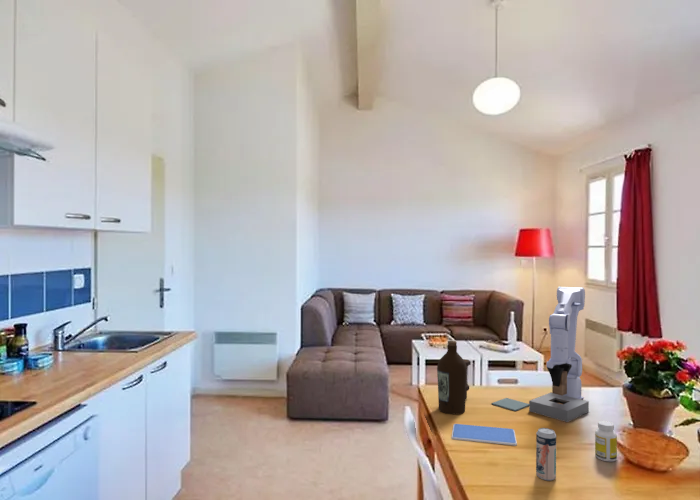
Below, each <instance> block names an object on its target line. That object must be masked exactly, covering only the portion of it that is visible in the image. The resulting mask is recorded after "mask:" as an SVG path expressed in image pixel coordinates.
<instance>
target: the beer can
mask: <svg viewBox="0 0 700 500" xmlns="http://www.w3.org/2000/svg"><path fill="white" fill-rule="evenodd" d="M535 433H536V434H535V435H536V437H535V438H536V439H535V443H536V444H535V445H536V447H535V454H536V455H535V458H536V459H535V465H536V466H535V474H536V476H537V477H538V478H539V479H541V480H543V481H547V482H548V481H553V480H556V478H557V434H556V432H555V430H553V429H552V428H548V427H541V428H538V430H537V431H536V432H535Z"/></svg>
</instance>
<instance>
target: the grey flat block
mask: <svg viewBox="0 0 700 500" xmlns="http://www.w3.org/2000/svg"><path fill="white" fill-rule="evenodd" d="M589 402H590V401H588V400H584V399H577V398H573V397H569V396H565V395H558V394H554V393H552V391H550V392H549V393H545V394H542V395H541V396H539V397H536V398H533V399H530V400H529V401H528V404H529V406H528V407H529V408H528V409H529V412H531V413H535V414H537V415H541V416H544V417H548V418H552V419H555V420H559V421H562V422H565V423H569V422H571V421H573V420H575V419H577V418H579V417H582V416H583V415H585V414H587V413H590V411H589V410H590V409H589V407H590V404H589ZM559 403H562V404H559Z"/></svg>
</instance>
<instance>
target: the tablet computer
mask: <svg viewBox="0 0 700 500" xmlns="http://www.w3.org/2000/svg"><path fill="white" fill-rule="evenodd" d="M450 438H451V440H455V441H468V442H477V443H485V444H494V445H495V444H497V445H505V446H518V442H517V437H516V432H515V429H513V428H507V427H506V428H505V427H496V426H495V427H494V426H483V425H472V424H464V423H463V424H462V423H454V424H453V425H452V431H451V437H450Z"/></svg>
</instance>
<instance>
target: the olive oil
mask: <svg viewBox="0 0 700 500" xmlns="http://www.w3.org/2000/svg"><path fill="white" fill-rule="evenodd" d="M446 346H447V348H446V349H447V351H446V352H445V353H444V355H442V357H441V358H440V359H439V360H438V363H437V367H436V372H437V373H436V374H437V376H436V377H437V391H438V392H437V394H438V395H437V397H438V400H437V401H438V410H439V411H440V412H441V413H444V414H448V415H461V414H463V413H465V412H466V399H465V397H466V379H467V380H468V366H466V363H465V361H464V360H463V359H464V358H463V357H462V356H461V355H460V354H459V352H458V345H457V341H456V340H448V341H447V345H446Z"/></svg>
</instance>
